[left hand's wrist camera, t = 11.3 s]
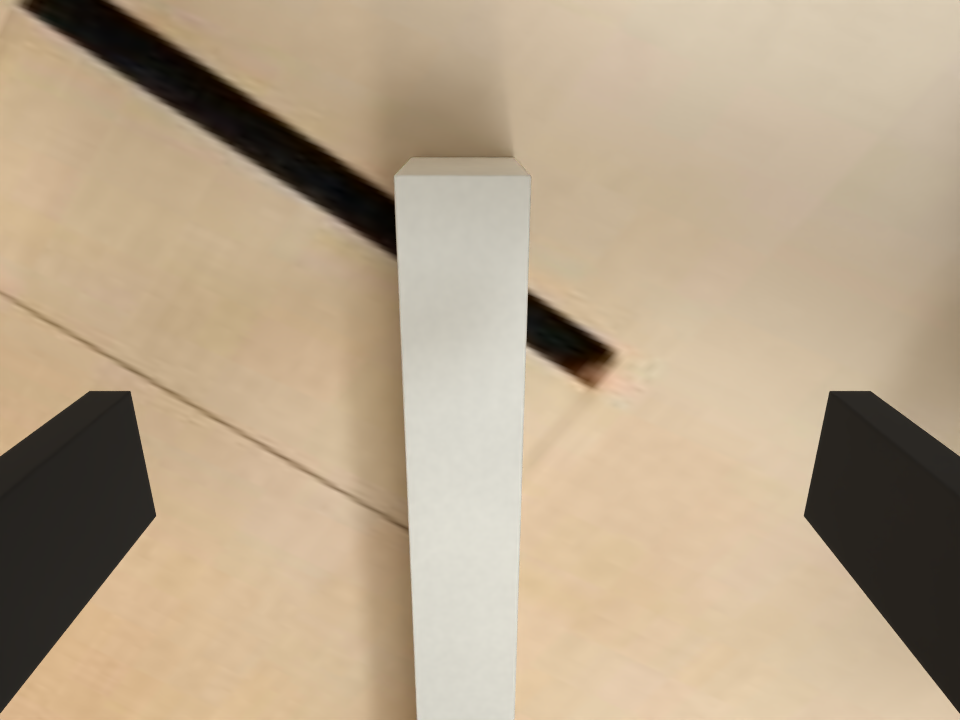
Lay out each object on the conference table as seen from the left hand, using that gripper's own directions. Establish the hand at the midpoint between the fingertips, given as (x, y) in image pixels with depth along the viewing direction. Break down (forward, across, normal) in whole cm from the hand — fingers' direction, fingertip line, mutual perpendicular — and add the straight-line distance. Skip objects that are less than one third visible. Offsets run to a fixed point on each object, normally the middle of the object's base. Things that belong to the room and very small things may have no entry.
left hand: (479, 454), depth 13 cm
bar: (+22, -1, -31) cm, 38 cm away
